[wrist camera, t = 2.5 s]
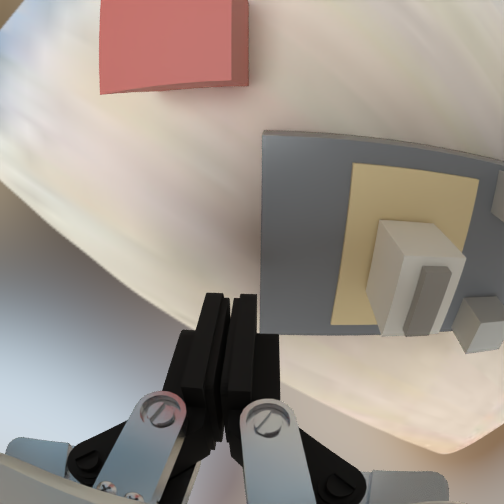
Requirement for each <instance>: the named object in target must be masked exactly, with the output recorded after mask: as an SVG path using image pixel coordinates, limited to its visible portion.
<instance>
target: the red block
mask: <svg viewBox="0 0 504 504" xmlns="http://www.w3.org/2000/svg"><path fill="white" fill-rule="evenodd" d="M248 17H249V3H248V0H101V8H100V31H99V75H100V95H102V94H113V93H128V92H149V91H166V90H176V89H188V88H203V87H224V86H249V77H248Z"/></svg>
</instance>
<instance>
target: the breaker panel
mask: <svg viewBox="0 0 504 504" xmlns="http://www.w3.org/2000/svg"><path fill="white" fill-rule="evenodd" d="M379 220H394V221H408V222H422V223H434V224H435V225H436V226H437V227H438V228H439V229H440V230H441V231H442V232H443V234H444V235H445V236H446V237H447V238H448V239H449V240H450V241H451V242H452V243H453V244H454V245H455V246H456V247H457V248H458V249H459V250H460V251H461V253H462V254H463V255H464V256H465V257H466V261H465V265H464V268H463V271H462V274H461V277H460V280H459V282H458V285H457V288H456V291H455V294H454V296H453V299H452V302H451V304H450V307H449V309H448V312H447V314H446V317H445V319H444V322H443V324H442V326H441V329H440V331H439V332H444V331H453V332H454V334H455V335H456V337H457V339H458V341H459V343H460V345H461V346H462V348H463V350H464V352H465V354H468V353H476V352H483V351H489V350H495V349H499V348H500V346H501V344H502V342H503V340H504V161H500V160H496V159H492V158H488V157H483V156H479V155H475V154H470V153H465V152H461V151H456V150H451V149H445V148H440V147H434V146H429V145H423V144H416V143H410V142H403V141H396V140H389V139H381V138H372V137H363V136H353V135H343V134H330V133H316V132H297V131H268V130H264V132H263V134H262V212H261V283H260V333H263V334H279V335H381V333H380V330H379V327H378V324H377V321H376V319H375V316H374V313H373V310H372V307H371V305H370V302H369V299H368V297H367V294H366V286H367V282H368V277H369V272H370V268H371V263H372V258H373V252H374V247H375V242H376V236H377V230H378V224H379Z"/></svg>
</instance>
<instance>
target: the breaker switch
mask: <svg viewBox="0 0 504 504" xmlns="http://www.w3.org/2000/svg"><path fill="white" fill-rule="evenodd" d="M465 261H466V257H465V256H464V255H463V254H462V253H461V251H460V250H459V249H458V248H457V247H456V246H455V245H454V244H453V243H452V242H451V241H450V240H449V239H448V238H447V237H446V236H445V235H444V234H443V232H442V231H441V230H440V229H439V228H438V227H437V226H436V225H435V224H434V223H422V222H408V221H394V220H379V224H378V230H377V236H376V242H375V247H374V252H373V258H372V263H371V268H370V272H369V277H368V282H367V286H366V294H367V297H368V299H369V302H370V305H371V307H372V310H373V313H374V316H375V319H376V321H377V324H378V327H379V330H380V333H381V336H405V337H407V336H425V335H429V334H438V333H439V331H440V329H441V326H442V324H443V322H444V319H445V317H446V314H447V312H448V309H449V307H450V304H451V302H452V299H453V296H454V294H455V291H456V288H457V285H458V282H459V280H460V277H461V274H462V271H463V268H464V265H465Z"/></svg>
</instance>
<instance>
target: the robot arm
mask: <svg viewBox="0 0 504 504" xmlns="http://www.w3.org/2000/svg"><path fill="white" fill-rule="evenodd" d="M224 426H225V433H226V440H227V442H229V445H230V452H231V457H232V458H233V459H235V460H236V461H237V462H238V463H239V464H240V465H241V466H242V467H243V476H244V484H245V493H246V503H247V504H467V503H462V502H454V501H449V488H448V482H447V480H446V479H445V478H444V476H443V475H441V474H439V473H437V472H431V471H426V472H425V471H423V472H408V471H379V470H373V471H372V472H360V471H359V470H358V469H357V468H355V467H354V466H352V465H351V464H349V463H348V462H346V461H345V460H343V459H342V458H340V457H339V456H338V455H336V454H335V453H333V452H332V451H330V450H329V449H328V448H326V447H325V446H323V445H322V444H321V443H319V442H317V441H316V440H315V439H314V438H312V437H311V436H309V435H308V434H307V433H305V432H304V431H303V430H302V429H300V428H299V427H298V424H297V419H296V416H295V414H294V411H293V410H292V409H291V408H290V407H289V406H288V405H287V404H285V403H284V402H282V401H280V360H279V334H263V333H257V294H240V298H234V301H233V307H232V313H231V317H230V299H229V298H224V295H223V293H206V296H205V299H204V303H203V306H202V310H201V313H200V317H199V321H198V324H197V328H196V330H182V331H181V333H180V336H179V339H178V342H177V345H176V349H175V352H174V355H173V358H172V361H171V364H170V367H169V370H168V373H167V377H166V380H165V383H164V386H163V390H162V391H156V392H152V393H150V394H147V395H145V396H144V397H143V398H141V399H140V401H139V402H138V403H137V404H136V406H135V408H134V410H133V412H132V413H131V415H130V417H129V419H128V420H127V421H125V422H123V423H121V424H119V425H117V426H115V427H113V428H111V429H109V430H107V431H105V432H103V433H100V434H98V435H96V436H94V437H92V438H90V439H88V440H86V441H83V442H81V443H80V444H78V445H77V446H71V445H70V444H69V443H63V442H53V441H46V440H38V439H31V438H24V437H19V438H16V439H14V440H12V441H11V442H10V443H9V445H8V447H7V449H6V453H5V454H3V453H0V504H187V502H188V499H189V496H190V493H191V490H192V488H193V485H194V482H195V479H196V476H197V474H198V471H199V468H200V465H201V460H202V459H204V458H205V457H207V456H208V455H210V451H211V450H215V446H216V442H222V439H223V431H224Z"/></svg>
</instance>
